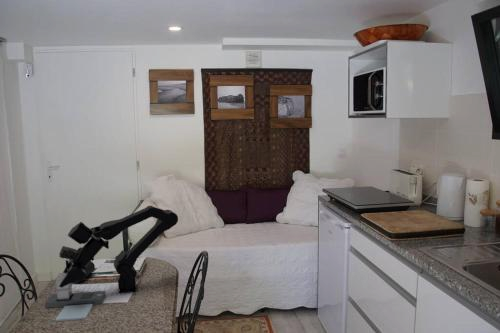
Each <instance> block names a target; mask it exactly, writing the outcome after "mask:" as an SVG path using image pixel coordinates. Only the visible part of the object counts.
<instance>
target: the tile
mask: <svg viewBox="0 0 500 333" xmlns="http://www.w3.org/2000/svg"><path fill="white" fill-rule="evenodd" d="M93 307H94V305H93V304H84V305H70V306H64V307H62V309H61V310H60V313H59V314H58V315H57V317H56V318H55V323H56V322H64V321H79V320H80V321H81V320H87V318H88V316H89V314H90V312H91V309H92V308H93Z"/></svg>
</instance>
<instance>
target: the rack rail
mask: <svg viewBox="0 0 500 333" xmlns="http://www.w3.org/2000/svg"><path fill="white" fill-rule="evenodd" d="M106 292H107V291H106V290H101V291H99V290H97V291H82V292H72V298H71V300H67V301H58V297H57V293H55V294H51V295H50V296H49V297H48V299H46V301H45V302H44V308H45V309H52V308H64V306H70V305H84V304H93V306H94V305H95V306H96V305H103V303H104V300H105V298H106V296H107V295H106Z"/></svg>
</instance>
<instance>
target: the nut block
mask: <svg viewBox="0 0 500 333" xmlns="http://www.w3.org/2000/svg"><path fill="white" fill-rule="evenodd" d="M66 275H67V273H63V272H59V273H58V274H57V276H56V277H55V282H56V283H55V284H56V294H57V297H58V301H67V300H71V298H72V293H73V285H72V284H73V283H70V284H68V285H66V286H64V287H62V288H61V287H59V285H60V284H61V282H62V281H63V279H64V278H65V276H66Z"/></svg>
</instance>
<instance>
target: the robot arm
mask: <svg viewBox="0 0 500 333" xmlns="http://www.w3.org/2000/svg"><path fill="white" fill-rule="evenodd" d="M150 218H154V219H156V222H155V224H154V225H153V226H152V227H151V228H150V229H149V230H148V231H146V233H145V234H144V235H143V236H142V237H141V238H139V240H138V241H137V242H136V243H135V244H134V245H133V246H132V247H131V248H130V249H129V250H127V251H125V250H124V249H122V250H121V251H120V252H119V254H117V255H116V256H115V259H114V260H113V267H114V269H115V271H116V273H117V274H118V275H119V277H118V278H117V279H118V280H117V289H118V293H120V294H122V293H133V292H134V293H135V292H136V291H137V288H138V283H137V282H138V281H137V274H138V272H137V270H136V268H135V264H136V261H137V259H138V258H139V257H140V256H141V255H142V254H143V253H144V252H145V251H146V250H147V249H148V248H149V247H150V246H151V245H152V244H153V243H154V242H155V241H156V240H157V238H159V237H160V236H161V235H162V234H163V233H164V232H166V231H168V230H170V229H171V228H173V227H175V226H176V225H177V224H178V222H179V217H178V215H177V213H175V212H174V211H173V210H171V209H162V208H159V207H155V206H153V205H148V206H146V207H143V209H140V210H137V211H135V212H132V213H131V214H128V215H126V216H124V217H122V218H119V219H114V220H113V219H112V220H109V221H105V222H103V223H100V225H98V226H95V227H94V226H93V227H88V226H87V225H86V224H85V223H84V222H82V221H80V222H79V223H78V224H76V225H74V226H73V227H72V228H71V229H70V230H69V232H68V234H67V236H68V238H70V239H72V240H73V241H74V242H76V243H77V244H79V245H83V246H80V247H79V248H78V249H76V248H74V247H73V248H72V247H70V246H69V247H68V246H65V245H63V246H62V247H61V249H60V252H59V254H58V255H59V258H60V259H66V260H65V268H64V270H63V271H62V273H67V275H66V276H65V278H64V279H63V281H62V282H61V284H60V285H59V287H61V288H62V287H64V286H66V285H68V284H70V283H71V284H73V283H72V282H74V281H76V280H81V281H82V282H83V281H85V279H86V278H87V277H86V271H85V269H86V268H87V267H86V265H87V264H88V263H89V262H90V261H92V262H93V261H94V260H95V257H96V255H97V254H99V252H100V251H101V250H102V248H103V247H104V248H105V249H107V250H108V249H109V248H110V247H109V243H110V242H109V241H110V240H112V239H114V238H115V237H117V236H118V235H120V234H121V233H122V232H123V231H124V230H126V229H128V228H131V227H133V226H135V225H137V224H140V223H142V222H144V221H145V220H148V219H150ZM82 268H83V269H82ZM81 281H80V282H81Z"/></svg>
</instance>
